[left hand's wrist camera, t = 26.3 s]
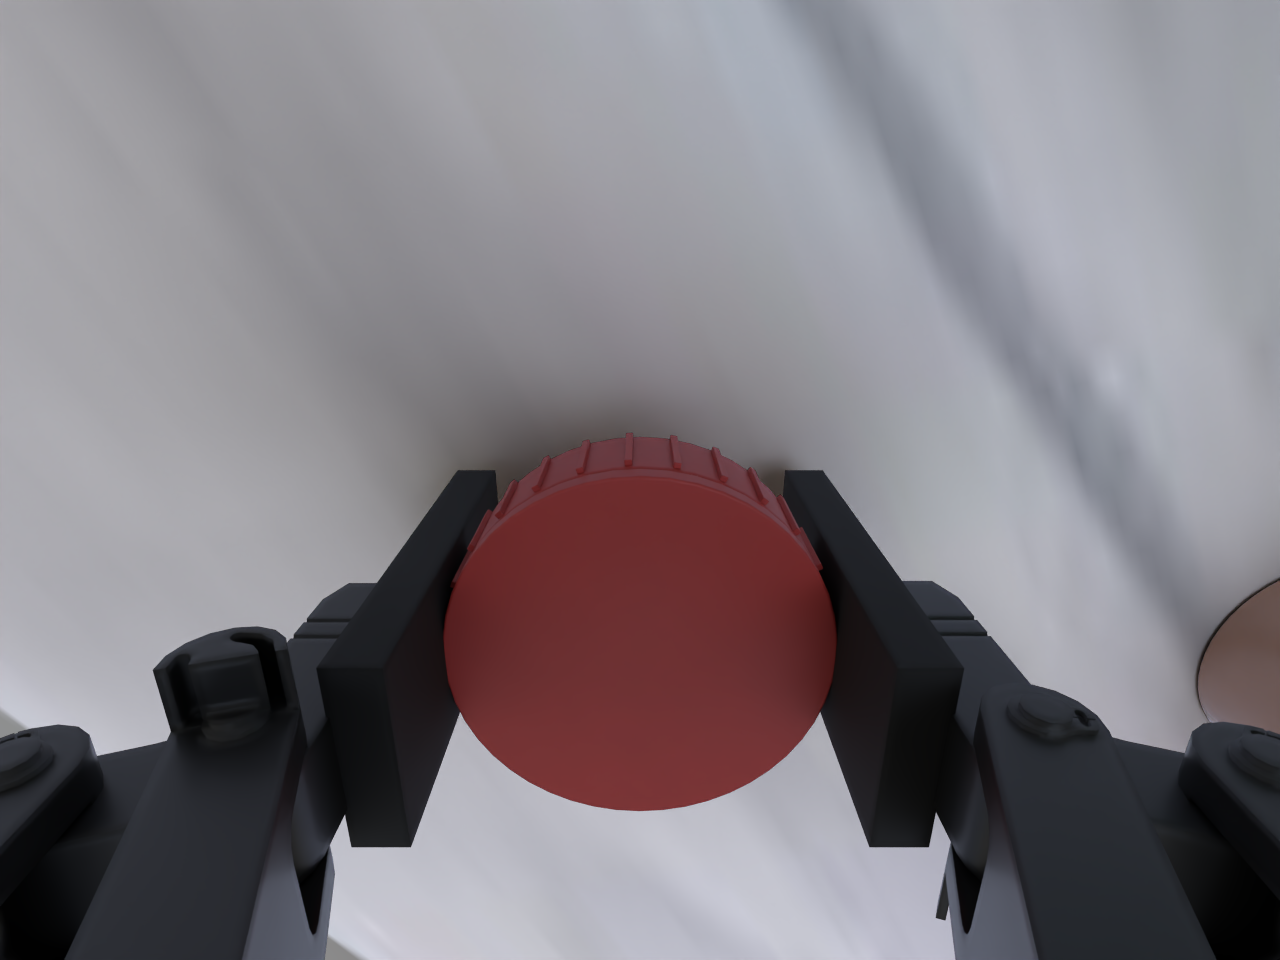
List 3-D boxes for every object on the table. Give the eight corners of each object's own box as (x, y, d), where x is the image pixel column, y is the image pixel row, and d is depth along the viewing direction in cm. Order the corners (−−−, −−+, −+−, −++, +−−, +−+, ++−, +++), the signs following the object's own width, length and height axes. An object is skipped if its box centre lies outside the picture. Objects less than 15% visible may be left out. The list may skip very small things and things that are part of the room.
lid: (695, 781, 14) (704, 865, 12) (411, 649, 12) (372, 721, 11) (884, 540, 12) (927, 597, 10) (568, 361, 11) (553, 390, 9)
